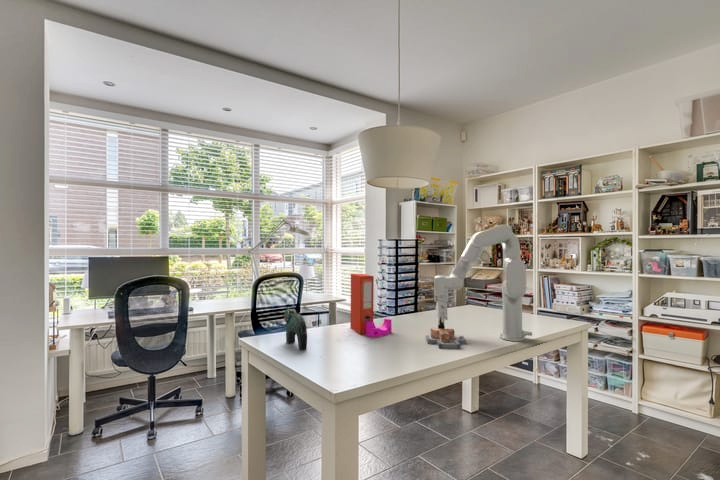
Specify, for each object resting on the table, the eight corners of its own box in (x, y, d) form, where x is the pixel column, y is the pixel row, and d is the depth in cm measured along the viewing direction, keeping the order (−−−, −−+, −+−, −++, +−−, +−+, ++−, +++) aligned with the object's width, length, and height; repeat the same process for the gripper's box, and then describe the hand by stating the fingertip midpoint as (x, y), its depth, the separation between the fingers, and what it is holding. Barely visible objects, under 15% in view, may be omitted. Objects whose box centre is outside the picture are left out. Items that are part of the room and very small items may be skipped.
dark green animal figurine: (282, 342, 189) (282, 302, 189) (294, 340, 193) (294, 301, 193) (298, 351, 172) (298, 308, 172) (311, 349, 176) (311, 307, 176)
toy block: (372, 337, 197) (372, 323, 197) (365, 335, 202) (365, 321, 202) (394, 333, 206) (394, 320, 206) (387, 331, 211) (387, 318, 211)
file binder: (363, 327, 222) (363, 273, 222) (373, 333, 205) (373, 275, 206) (350, 328, 219) (350, 273, 219) (359, 334, 203) (359, 276, 203)
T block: (453, 336, 199) (453, 328, 199) (457, 342, 187) (457, 334, 187) (430, 335, 200) (430, 328, 200) (433, 341, 188) (433, 333, 188)
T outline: (462, 339, 192) (462, 335, 192) (470, 348, 175) (470, 344, 176) (425, 339, 193) (425, 335, 193) (429, 348, 177) (429, 344, 177)
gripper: (450, 300, 194) (450, 335, 194) (446, 296, 209) (446, 328, 209) (436, 300, 195) (435, 335, 195) (432, 296, 210) (432, 328, 209)
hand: (441, 331), depth 202 cm, fingers closed
